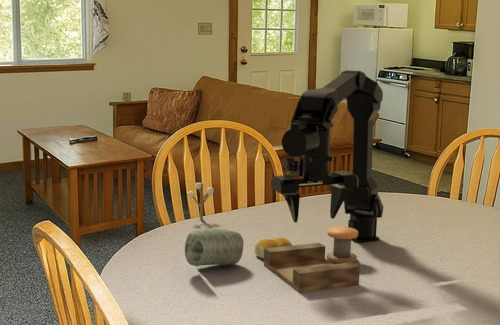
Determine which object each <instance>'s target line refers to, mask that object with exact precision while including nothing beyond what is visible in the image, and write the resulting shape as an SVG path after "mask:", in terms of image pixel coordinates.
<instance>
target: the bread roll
mask: <svg viewBox="0 0 500 325" xmlns="http://www.w3.org/2000/svg"><path fill="white" fill-rule="evenodd" d="M292 245H293V244H292V242H291V241H290V240H289V239H288V238H285V237H274V238H273V237H272V238H270V239H269V238H263V239H260V240H259V241H257V243H256V244H255V246H254V254H255V255H256V256H257V257H259V258H261V259H263V260H264V248H273V247H283V246H292Z"/></svg>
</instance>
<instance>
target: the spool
mask: <svg viewBox="0 0 500 325" xmlns="http://www.w3.org/2000/svg"><path fill="white" fill-rule="evenodd" d="M185 238H186V239H185V243H184V257H185V259H186V262H187V263H188V264H189V265H190V266H194V267H199V266H200V267H201V266H211V265H212V266H216V265H218V266H223V265H224V266H225V265H228V266H229V265H235V264H236V265H237V264H238V263H239V262H240V261H241V260H242V259H241V258H242V256H243V252H244V238H243V236H242V235H241V233H240V232H239V231H236V230H234V229H230V228H220V227H219V228H218V227H216V228H215V227H213V228H212V227H211V228H202V229H194V230H191V231H190V232H189V233H188V234H187V236H186V237H185Z"/></svg>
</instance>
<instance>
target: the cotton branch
mask: <svg viewBox="0 0 500 325" xmlns="http://www.w3.org/2000/svg"><path fill="white" fill-rule="evenodd" d="M194 187H195V188H196V189H197V190H198V192H199V201H198V200H197V199H196V197H195V193H194V192H193V191H192V190H190V191H188V192H187V197H188V198H192V199H193V200H194V201H195V203H196V204H197V206H198V207H199V221H203V220H204V204H205V202H206V201H207V199H208V198H209V197H211V196H212V195H213V193H214V191H215V190H214V188H213V187H211V186H210V187H207V188H206V193H205V194H204V188H205V186H204V183H203V182H196V183H195V185H194Z"/></svg>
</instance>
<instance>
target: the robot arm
mask: <svg viewBox="0 0 500 325" xmlns="http://www.w3.org/2000/svg"><path fill="white" fill-rule="evenodd" d="M383 97H384V92H383V90H382V88H381V86H380V84H379V83H378V82H377V81H376V80H374V79H372V78H370V77H369V76H367V75H366V73H365V72H363V71H361V70H350V69H349V70H348V69H347V70H344V71H343V70H342V72H340V75H338V76H337V77H336V78H334V79H333V80H331V81H330V82H329V83H327V84H326V85H324V86H323V87H321V88H312V89H309V90H306V91H305V90H304V91H303V93H302V94H301V95H300V97H299V99H298V101H297V104H296V107H295V110H294V112H293V115H292V117H291V120H290V129H288V130H286V131H285V133H284V134H283V135H282V138H281V147H282V149H283V150H284V152H285V153H286V154H287V156H290V157H285V158H283V165H282V167H283V172H284V173H285V175H274V176H273V177H272V179H271V182H270V188H271V189H272V190H274V191H275V192H277V193H278V194H279V195H280V194H281V195H282V196H283V197H284V199H285V201H286V203H287V206H288V209H289V213H290V216H291V218H292V221H293V222H294V223H295V224H296V223H298V220H299V212H300V210H299V209H300V198H301V197H300V196H301V194H300V193H299V192H298V191H299V190H300V188H307V187H318V186H328V187H329V190H330V210H329V213H330V214H329V216H330V219H332V220H333V219H335V218H336V217H337V214H338V212H339V210H340V209H341V207H342V205H343V207H344V214H346V215H349V219H348V221H347V222H348V223H347V227H349V228H353V229H356V230H357V231H358V237H357V238H354V239H353V240H354V241H355V242H360V243H361V242H368V241H370V242H371V241H378V240H380V237H379V236H377V226H378V219H379V218H380V219H381V218H382V217H383V213H384V205H383V203H382V200H381V197H380V195H379V187H378V184H377V182H376V181H375V179H374V177H373V174H372V173H373V172H372V171H373V143H374V142H373V138H374V119H375V117H376V116H377V115H378V113H379V111H380V110H381V104H382V101H383ZM343 100H345V101H346V107H347V108H346V109H347V111H348V113H349V114H350V116H351V118H352V119H353V120H352V121H353V126H352V127H353V129H352V132H353V134H352V136H353V137H352V171H351V172H350V171H347V170H337V171H332V172H331V174H330V173H329V172H330V170H329V169H330V162H332V161H333V155H330V147H331V146H330V145H331V144H330V143H331V128H333V127H334V123H333V122H332V120H333V118H334V116H335V115H336V114H337V113H338V111H339V109H338V108H339V106H338V105H339V104H340V103H341V102H343ZM296 157H299V158H298V160H295V158H296ZM289 173H290V174H291V175H289ZM297 177H299V178H297Z"/></svg>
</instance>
